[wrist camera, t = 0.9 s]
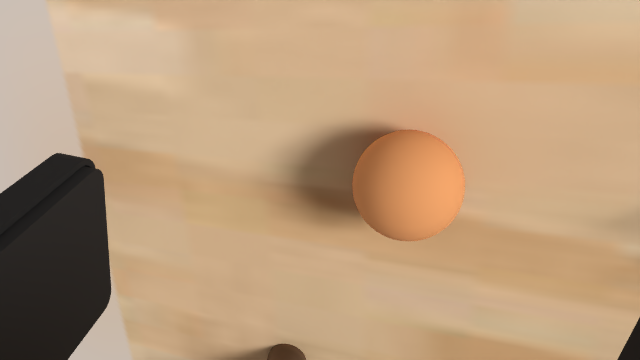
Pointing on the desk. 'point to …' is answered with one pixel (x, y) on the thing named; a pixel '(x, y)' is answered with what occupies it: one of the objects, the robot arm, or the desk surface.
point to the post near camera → (285, 353)
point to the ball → (408, 185)
